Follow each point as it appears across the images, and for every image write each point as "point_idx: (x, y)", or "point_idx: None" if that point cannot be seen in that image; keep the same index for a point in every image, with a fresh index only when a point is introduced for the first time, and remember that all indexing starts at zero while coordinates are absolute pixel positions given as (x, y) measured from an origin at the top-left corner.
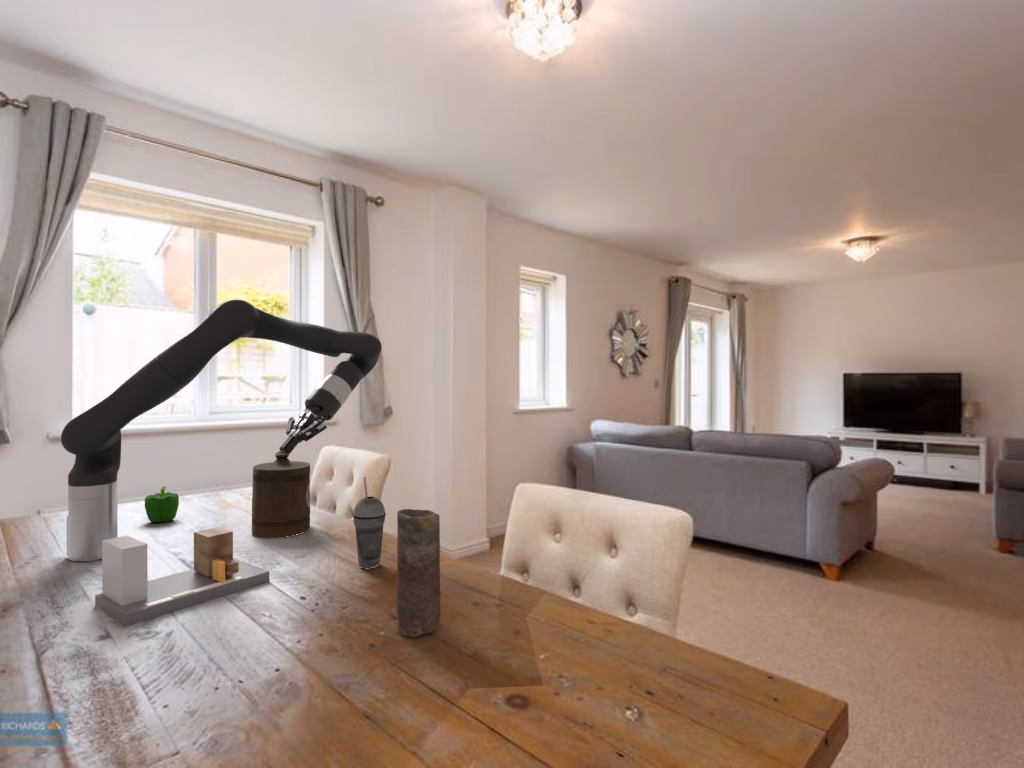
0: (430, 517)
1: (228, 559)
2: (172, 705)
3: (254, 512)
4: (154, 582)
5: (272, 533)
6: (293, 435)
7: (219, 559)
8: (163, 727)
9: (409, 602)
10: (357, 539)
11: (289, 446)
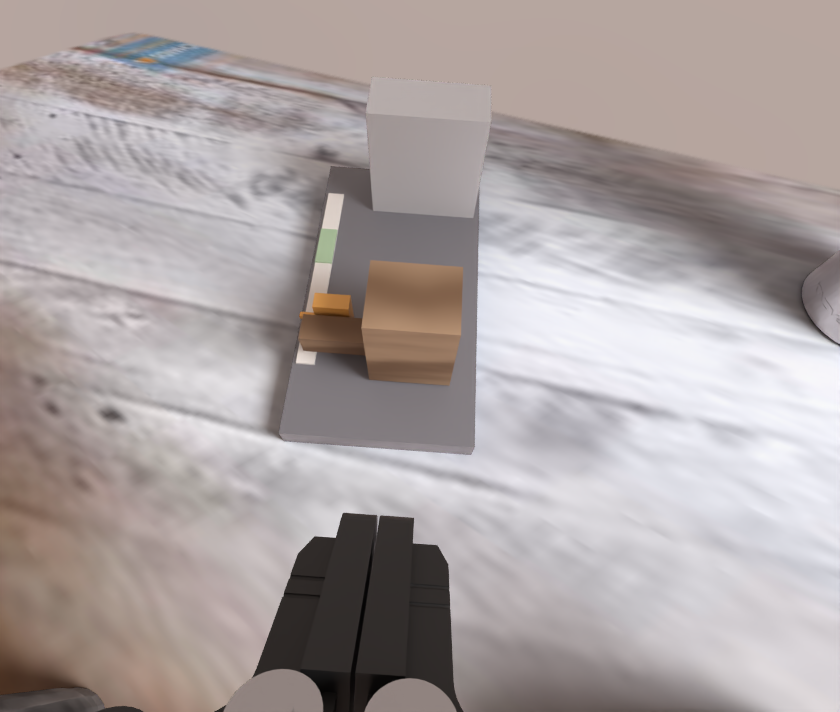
0: None
1: (345, 337)
2: (45, 119)
3: None
4: (456, 255)
5: None
6: (285, 688)
7: (343, 309)
8: (17, 98)
9: None
10: (18, 697)
11: (292, 570)
